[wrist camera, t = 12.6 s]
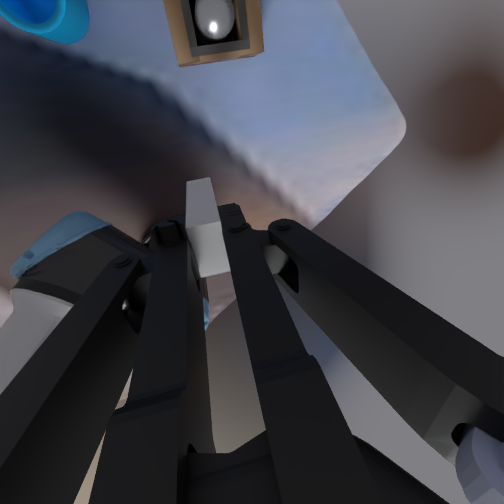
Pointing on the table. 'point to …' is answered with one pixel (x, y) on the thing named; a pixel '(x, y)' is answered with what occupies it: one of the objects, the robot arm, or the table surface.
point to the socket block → (242, 46)
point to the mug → (48, 18)
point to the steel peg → (213, 20)
